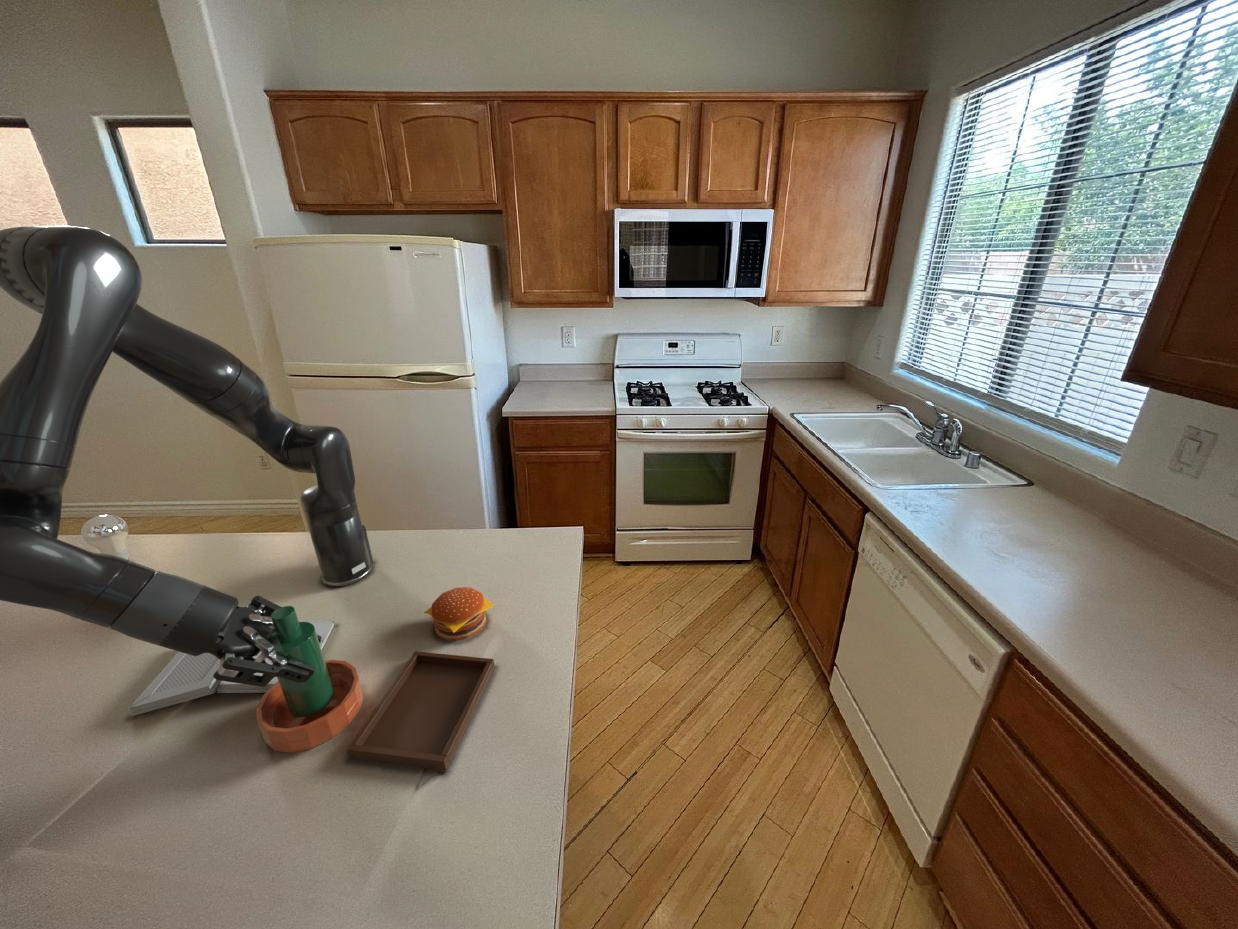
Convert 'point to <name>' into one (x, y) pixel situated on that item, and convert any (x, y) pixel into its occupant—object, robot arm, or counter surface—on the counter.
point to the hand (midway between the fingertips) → (314, 658)
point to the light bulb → (107, 535)
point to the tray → (424, 711)
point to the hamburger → (459, 613)
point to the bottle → (305, 648)
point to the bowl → (317, 728)
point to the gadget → (201, 678)
